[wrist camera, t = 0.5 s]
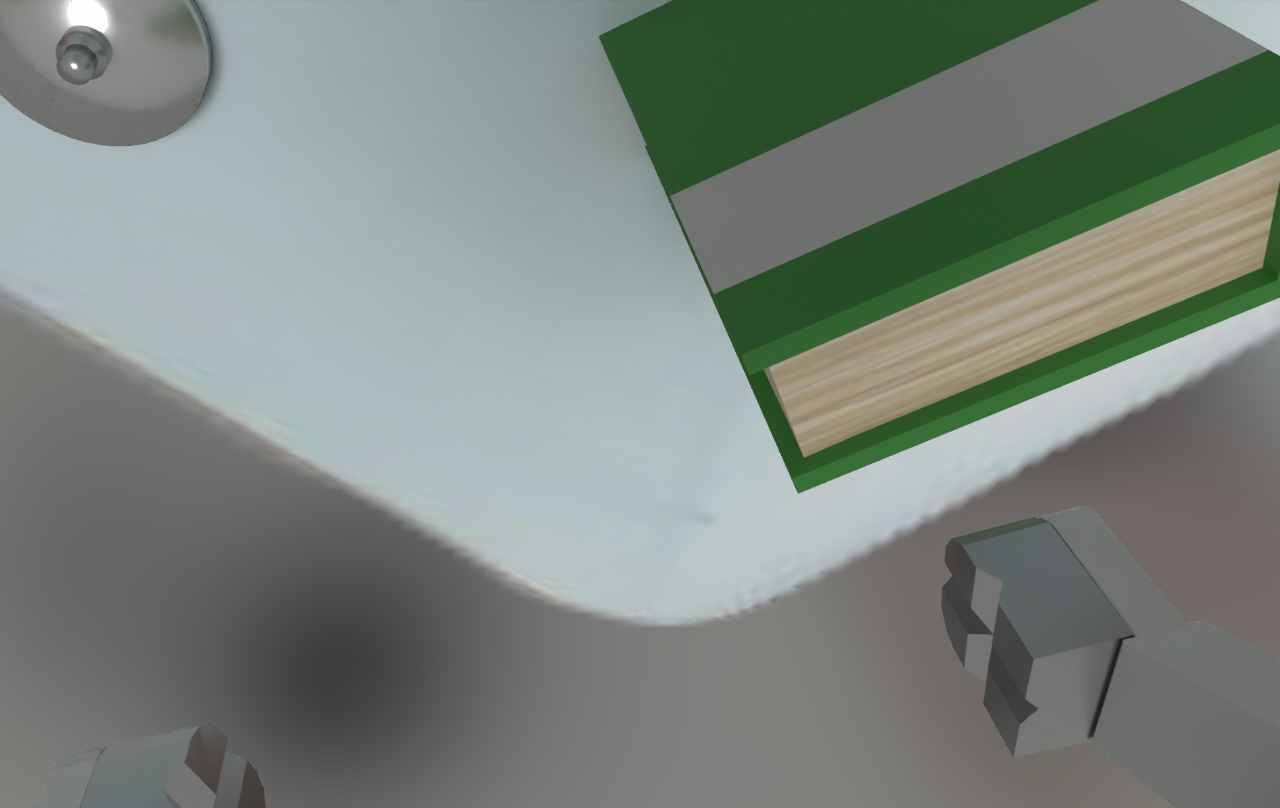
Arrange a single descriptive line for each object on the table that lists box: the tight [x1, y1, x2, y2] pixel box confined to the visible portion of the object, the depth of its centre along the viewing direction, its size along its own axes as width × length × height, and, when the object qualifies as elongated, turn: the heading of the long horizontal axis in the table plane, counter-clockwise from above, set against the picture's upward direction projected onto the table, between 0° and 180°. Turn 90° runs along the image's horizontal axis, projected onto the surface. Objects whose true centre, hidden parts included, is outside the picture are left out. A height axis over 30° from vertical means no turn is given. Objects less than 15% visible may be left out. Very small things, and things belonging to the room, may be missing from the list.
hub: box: [0, 0, 211, 146], centre depth 37 cm, size 9×9×4 cm
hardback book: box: [599, 0, 1280, 493], centre depth 36 cm, size 18×7×24 cm, turn 111°
